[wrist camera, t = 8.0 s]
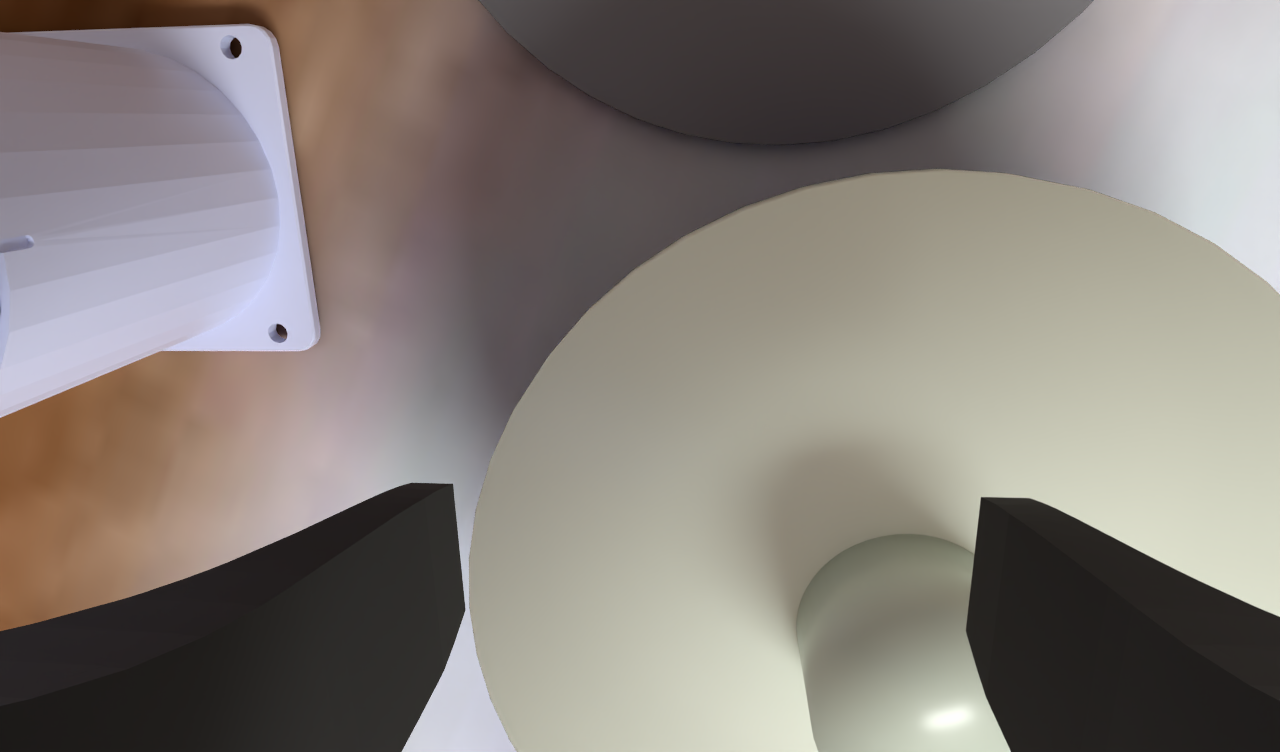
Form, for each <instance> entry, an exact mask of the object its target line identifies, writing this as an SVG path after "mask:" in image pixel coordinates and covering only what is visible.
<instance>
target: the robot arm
mask: <svg viewBox="0 0 1280 752" xmlns="http://www.w3.org/2000/svg"><path fill="white" fill-rule="evenodd" d="M233 38H237V39H238V40H239V41H240V43H241V46H242V52H241V54H240V56H239V57H238V58H235V57H234V56H233V55H232V53H231V50H230V43H231V41H232V40H233ZM277 324H281V325H282V326H283V327H285V328H286V331H287V333H288V335H287V339H284V338H282V337H280V336H279V335H278V333H277V331H276V325H277ZM319 338H320V323H319V316H318V310H317V303H316V296H315V289H314V282H313V276H312V269H311V262H310V255H309V248H308V242H307V235H306V228H305V221H304V214H303V208H302V201H301V194H300V187H299V180H298V173H297V167H296V160H295V153H294V146H293V139H292V133H291V126H290V119H289V112H288V105H287V99H286V92H285V85H284V78H283V71H282V65H281V58H280V51H279V46H278V43H277V40H276V38H275V36H274V35H273V34H272V32H271V31H269V30H268V29H266V28H265V27H262V26H258V25H252V24H231V25H203V26H176V27H149V28H121V29H94V30H67V31H39V32H12V33H5V32H0V418H1V417H3V416H5V415H8V414H10V413H13V412H15V411H17V410H20V409H22V408H25V407H27V406H29V405H32V404H34V403H37V402H39V401H41V400H44V399H46V398H49V397H51V396H53V395H56V394H58V393H61V392H63V391H65V390H68V389H70V388H73V387H75V386H77V385H80V384H82V383H85V382H87V381H89V380H92V379H94V378H97V377H99V376H101V375H104V374H106V373H109V372H111V371H113V370H116V369H118V368H121V367H123V366H125V365H128V364H130V363H133V362H135V361H137V360H140V359H142V358H145V357H147V356H149V355H152V354H154V353H157V352H159V351H303V350H307V349H309V348H310V347H312V346H314V345H315V344H316V343H317V342H318V340H319ZM464 613H465V601H464V591H463V581H462V571H461V561H460V551H459V541H458V531H457V521H456V511H455V501H454V491H453V484H435V483H409V484H406V485H402V486H399V487H396V488H394V489H391V490H389V491H386V492H384V493H381V494H379V495H377V496H374V497H372V498H370V499H368V500H366V501H363V502H361V503H359V504H357V505H355V506H353V507H350V508H348V509H346V510H344V511H342V512H340V513H338V514H336V515H333V516H331V517H329V518H327V519H325V520H323V521H321V522H319V523H316V524H314V525H312V526H310V527H308V528H306V529H304V530H302V531H299V532H297V533H295V534H293V535H290V536H288V537H286V538H283V539H281V540H279V541H276V542H274V543H272V544H270V545H267V546H265V547H263V548H260V549H258V550H256V551H253V552H251V553H249V554H246V555H244V556H242V557H239V558H237V559H235V560H232V561H230V562H228V563H225V564H223V565H220V566H218V567H215V568H212V569H210V570H207V571H205V572H202V573H199V574H197V575H194V576H191V577H188V578H186V579H183V580H180V581H177V582H174V583H171V584H168V585H165V586H162V587H159V588H156V589H153V590H150V591H148V592H145V593H141V594H138V595H135V596H132V597H129V598H126V599H122V600H118V601H115V602H111V603H107V604H104V605H100V606H97V607H93V608H89V609H86V610H82V611H78V612H75V613H71V614H68V615H64V616H60V617H57V618H53V619H49V620H46V621H42V622H38V623H34V624H30V625H26V626H22V627H17V628H13V629H9V630H4V631H0V752H402V750H403V748H404V746H405V744H406V742H407V740H408V738H409V737H410V735H411V733H412V731H413V729H414V727H415V725H416V724H417V722H418V720H419V718H420V716H421V714H422V712H423V710H424V708H425V706H426V704H427V703H428V701H429V699H430V697H431V695H432V693H433V691H434V689H435V687H436V685H437V683H438V681H439V679H440V677H441V675H442V673H443V671H444V669H445V666H446V664H447V661H448V658H449V656H450V653H451V650H452V648H453V645H454V642H455V639H456V636H457V633H458V630H459V627H460V624H461V621H462V618H463V616H464ZM966 634H967V637H968V641H969V644H970V647H971V651H972V654H973V658H974V661H975V665H976V668H977V671H978V674H979V677H980V680H981V683H982V687H983V690H984V693H985V696H986V699H987V701H988V703H989V705H990V707H991V710H992V712H993V714H994V716H995V718H996V721H997V723H998V725H999V727H1000V729H1001V731H1002V733H1003V736H1004V738H1005V740H1006V742H1007V744H1008V746H1009V749H1010V751H1011V752H1280V617H1279V616H1277V615H1274V614H1272V613H1269V612H1267V611H1265V610H1262V609H1260V608H1258V607H1255V606H1253V605H1251V604H1249V603H1246V602H1244V601H1242V600H1240V599H1238V598H1236V597H1233V596H1231V595H1229V594H1227V593H1225V592H1222V591H1220V590H1218V589H1216V588H1214V587H1212V586H1209V585H1207V584H1205V583H1203V582H1201V581H1198V580H1196V579H1194V578H1192V577H1190V576H1188V575H1186V574H1184V573H1182V572H1180V571H1178V570H1176V569H1174V568H1172V567H1170V566H1168V565H1166V564H1164V563H1162V562H1160V561H1158V560H1156V559H1154V558H1152V557H1150V556H1148V555H1146V554H1144V553H1142V552H1140V551H1138V550H1136V549H1134V548H1132V547H1130V546H1129V545H1127V544H1125V543H1123V542H1121V541H1119V540H1117V539H1115V538H1113V537H1111V536H1109V535H1107V534H1105V533H1103V532H1102V531H1100V530H1098V529H1096V528H1094V527H1092V526H1090V525H1088V524H1086V523H1084V522H1082V521H1080V520H1078V519H1076V518H1074V517H1072V516H1070V515H1068V514H1066V513H1064V512H1062V511H1060V510H1058V509H1056V508H1054V507H1051V506H1049V505H1047V504H1044V503H1042V502H1039V501H1036V500H1034V499H1031V498H1004V497H981V501H980V509H979V518H978V527H977V536H976V545H975V553H974V562H973V571H972V580H971V588H970V597H969V606H968V615H967V623H966Z"/></svg>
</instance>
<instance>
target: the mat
mask: <svg viewBox="0 0 1280 752" xmlns="http://www.w3.org/2000/svg"><path fill="white" fill-rule="evenodd" d="M479 1H480V2H481V3H482V5H483V6H484V7H485V8H486V9H487V10H488V11H489V12H490V14H491V15H492V16H493V17H494V18H495V19H496V20H497V21H498V23H499V24H500V25H501V26H502V27H503V28H504V29H505V31H506V32H507V33H508V34H510V35H511V36H512V37H513V38H514V39H515V40H516V41H518V42H519V43H520V44H521V45H522V46H523V47H524V48H526V49H527V50H528V51H529V52H530V53H531V54H532V55H534V56H535V57H536V58H537V59H538V60H539V61H540V62H542V63H543V64H544V65H545V66H546V67H547V68H549V69H550V70H552V71H553V72H555V73H556V74H558V75H559V76H561V77H562V78H564V79H565V80H567V81H568V82H570V83H571V84H573V85H574V86H576V87H577V88H579V89H580V90H582V91H583V92H585V93H586V94H588V95H589V96H591V97H593V98H595V99H597V100H599V101H601V102H603V103H606V104H608V105H610V106H612V107H614V108H616V109H618V110H620V111H622V112H624V113H626V114H628V115H630V116H632V117H634V118H637V119H640V120H643V121H646V122H649V123H652V124H655V125H658V126H661V127H664V128H667V129H670V130H673V131H676V132H679V133H682V134H687V135H693V136H698V137H704V138H709V139H714V140H720V141H725V142H731V143H750V144H772V145H787V144H799V143H810V142H821V141H833V140H837V139H842V138H846V137H851V136H855V135H860V134H864V133H869V132H873V131H878V130H882V129H886V128H889V127H891V126H894V125H897V124H900V123H903V122H905V121H908V120H911V119H914V118H916V117H919V116H922V115H925V114H927V113H930V112H933V111H936V110H938V109H940V108H942V107H944V106H946V105H948V104H950V103H952V102H954V101H955V100H957V99H959V98H961V97H963V96H965V95H967V94H969V93H971V92H973V91H975V90H977V89H979V88H981V87H983V86H985V85H987V84H988V83H990V82H991V81H993V80H994V79H996V78H997V77H999V76H1000V75H1002V74H1003V73H1005V72H1006V71H1008V70H1009V69H1011V68H1012V67H1014V66H1015V65H1017V64H1018V63H1020V62H1021V61H1023V60H1024V59H1026V58H1027V57H1029V56H1030V55H1032V54H1033V53H1035V52H1036V51H1037V50H1038V49H1040V48H1041V47H1042V46H1043V45H1044V44H1046V43H1047V42H1048V41H1049V40H1050V39H1051V38H1053V37H1054V36H1055V35H1056V34H1057V33H1059V32H1060V31H1061V30H1062V29H1063V28H1064V27H1066V26H1067V25H1068V24H1069V23H1070V22H1072V21H1073V20H1074V19H1075V18H1076V17H1077V16H1079V15H1080V14H1081V13H1082V12H1083V11H1084V10H1085V9H1086V8H1087V7H1088V6H1089V5H1090V4H1091V3H1092V2H1093V0H479Z"/></svg>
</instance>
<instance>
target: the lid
mask: <svg viewBox="0 0 1280 752" xmlns="http://www.w3.org/2000/svg"><path fill="white" fill-rule="evenodd" d="M981 497H1004V498H1031V499H1034V500H1036V501H1039V502H1042V503H1044V504H1047V505H1049V506H1051V507H1054V508H1056V509H1058V510H1060V511H1062V512H1064V513H1066V514H1068V515H1070V516H1072V517H1074V518H1076V519H1078V520H1080V521H1082V522H1084V523H1086V524H1088V525H1090V526H1092V527H1094V528H1096V529H1098V530H1100V531H1102V532H1103V533H1105V534H1107V535H1109V536H1111V537H1113V538H1115V539H1117V540H1119V541H1121V542H1123V543H1125V544H1127V545H1129V546H1130V547H1132V548H1134V549H1136V550H1138V551H1140V552H1142V553H1144V554H1146V555H1148V556H1150V557H1152V558H1154V559H1156V560H1158V561H1160V562H1162V563H1164V564H1166V565H1168V566H1170V567H1172V568H1174V569H1176V570H1178V571H1180V572H1182V573H1184V574H1186V575H1188V576H1190V577H1192V578H1194V579H1196V580H1198V581H1201V582H1203V583H1205V584H1207V585H1209V586H1212V587H1214V588H1216V589H1218V590H1220V591H1222V592H1225V593H1227V594H1229V595H1231V596H1233V597H1236V598H1238V599H1240V600H1242V601H1244V602H1246V603H1249V604H1251V605H1253V606H1255V607H1258V608H1260V609H1262V610H1265V611H1267V612H1269V613H1272V614H1274V615H1277V616H1279V617H1280V295H1279V294H1278V292H1277V291H1276V290H1275V289H1274V288H1273V287H1272V286H1271V285H1270V284H1269V283H1268V282H1266V281H1265V280H1264V279H1262V278H1261V277H1260V276H1258V275H1257V274H1255V273H1254V272H1253V271H1251V270H1250V269H1249V268H1247V267H1246V266H1245V265H1243V264H1242V263H1240V262H1239V261H1238V260H1236V259H1235V258H1234V257H1232V256H1231V255H1229V254H1228V253H1227V252H1225V251H1224V250H1223V249H1221V248H1220V247H1219V246H1217V245H1216V244H1214V243H1212V242H1211V241H1209V240H1207V239H1205V238H1203V237H1201V236H1199V235H1197V234H1195V233H1193V232H1191V231H1189V230H1188V229H1186V228H1184V227H1182V226H1180V225H1178V224H1176V223H1174V222H1172V221H1170V220H1168V219H1166V218H1165V217H1163V216H1161V215H1159V214H1157V213H1155V212H1152V211H1149V210H1146V209H1143V208H1141V207H1138V206H1135V205H1132V204H1129V203H1126V202H1123V201H1121V200H1118V199H1115V198H1112V197H1109V196H1106V195H1103V194H1100V193H1098V192H1095V191H1092V190H1089V189H1084V188H1079V187H1074V186H1069V185H1064V184H1058V183H1053V182H1048V181H1043V180H1038V179H1033V178H1028V177H1023V176H1018V175H1013V174H1007V173H999V172H982V171H966V170H950V169H923V170H909V171H895V172H880V173H868V174H863V175H858V176H853V177H848V178H843V179H838V180H833V181H828V182H823V183H818V184H813V185H808V186H803V187H801V188H798V189H795V190H792V191H789V192H786V193H783V194H780V195H777V196H774V197H771V198H768V199H765V200H762V201H759V202H756V203H753V204H750V205H747V206H745V207H742V208H740V209H738V210H736V211H734V212H732V213H729V214H727V215H725V216H723V217H721V218H719V219H717V220H715V221H713V222H711V223H709V224H707V225H705V226H703V227H701V228H699V229H697V230H695V231H693V232H691V233H689V234H687V235H685V236H683V237H682V238H680V239H679V240H677V241H676V242H674V243H673V244H671V245H670V246H668V247H667V248H665V249H664V250H662V251H661V252H659V253H658V254H656V255H655V256H653V257H652V258H650V259H649V260H647V261H646V262H644V263H643V264H641V265H640V266H638V267H637V268H635V269H634V270H633V271H631V272H630V273H629V274H628V275H627V276H626V277H625V278H623V279H622V280H621V281H620V282H619V283H618V284H617V285H615V286H614V287H613V288H612V289H611V290H610V291H609V292H607V293H606V294H605V295H604V296H603V297H602V298H601V299H599V300H598V301H597V302H596V303H595V304H594V305H593V306H591V307H590V308H589V309H588V311H587V312H586V313H585V314H584V315H583V316H582V317H581V319H580V320H579V321H578V322H577V323H576V324H575V325H574V327H573V328H572V329H571V330H570V331H569V332H568V334H567V335H566V336H565V337H564V338H563V339H562V340H561V342H560V343H559V344H558V345H557V346H556V347H555V349H554V350H553V351H552V352H551V354H550V355H549V356H548V358H547V359H546V361H545V362H544V364H543V365H542V367H541V368H540V370H539V371H538V373H537V374H536V376H535V378H534V379H533V381H532V382H531V384H530V385H529V387H528V388H527V390H526V391H525V393H524V395H523V396H522V398H521V399H520V401H519V402H518V404H517V405H516V407H515V408H514V410H513V412H512V414H511V416H510V418H509V421H508V423H507V425H506V427H505V429H504V431H503V434H502V436H501V438H500V440H499V442H498V444H497V447H496V449H495V451H494V453H493V455H492V457H491V460H490V463H489V466H488V470H487V473H486V477H485V480H484V483H483V487H482V490H481V494H480V497H479V500H478V504H477V507H476V512H475V519H474V526H473V534H472V541H471V548H470V555H469V608H470V614H471V621H472V627H473V633H474V640H475V646H476V652H477V657H478V660H479V663H480V666H481V670H482V673H483V676H484V679H485V683H486V686H487V689H488V692H489V696H490V699H491V701H492V703H493V705H494V708H495V710H496V712H497V714H498V716H499V718H500V720H501V723H502V725H503V727H504V729H505V731H506V733H507V735H508V737H509V740H510V742H511V743H512V745H513V746H514V748H515V749H516V751H517V752H1011V751H1010V749H1009V746H1008V744H1007V742H1006V740H1005V738H1004V736H1003V733H1002V731H1001V729H1000V727H999V725H998V723H997V721H996V718H995V716H994V714H993V712H992V710H991V707H990V705H989V703H988V701H987V699H986V696H985V693H984V690H983V687H982V683H981V680H980V677H979V674H978V671H977V668H976V665H975V661H974V658H973V654H972V651H971V647H970V644H969V641H968V637H967V634H966V623H967V615H968V606H969V597H970V588H971V580H972V571H973V562H974V553H975V545H976V536H977V527H978V518H979V509H980V501H981Z"/></svg>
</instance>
